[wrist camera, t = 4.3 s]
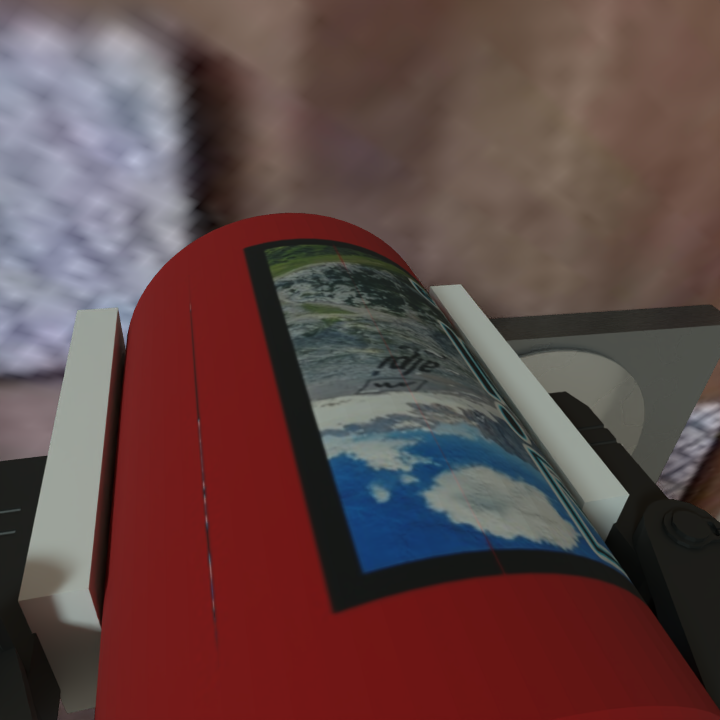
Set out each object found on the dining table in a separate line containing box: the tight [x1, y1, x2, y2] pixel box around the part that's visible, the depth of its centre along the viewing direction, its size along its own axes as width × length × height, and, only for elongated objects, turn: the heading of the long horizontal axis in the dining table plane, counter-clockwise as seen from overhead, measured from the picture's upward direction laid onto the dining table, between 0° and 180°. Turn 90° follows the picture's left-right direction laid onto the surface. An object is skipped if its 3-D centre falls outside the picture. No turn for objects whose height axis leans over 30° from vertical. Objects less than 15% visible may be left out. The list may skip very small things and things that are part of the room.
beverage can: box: [94, 213, 720, 720], centre depth 10 cm, size 7×7×12 cm
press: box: [489, 305, 720, 484], centre depth 26 cm, size 14×20×10 cm
